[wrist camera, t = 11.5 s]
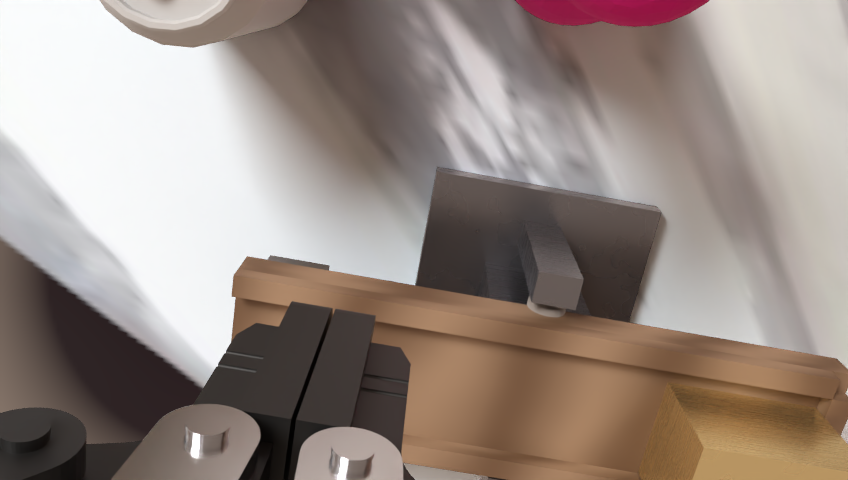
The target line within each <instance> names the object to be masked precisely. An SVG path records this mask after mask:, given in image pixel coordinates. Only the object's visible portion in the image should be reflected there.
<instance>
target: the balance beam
mask: <svg viewBox="0 0 848 480" xmlns="http://www.w3.org/2000/svg"><path fill="white" fill-rule="evenodd" d="M232 297H236V300H235V310H234V320H233V330H232V340H233V339H234V337H235V336H236V334H238V333H240V332H241V331H243V330H245V329H247V328H248V327H250V326H252V325H254V324H255V323H260V324H266V325H272V326H278V327H279V325H280V323H281V321H282V319H283V317H284V315H285V313H286V311H287V309H288V307H289V305H290V303H291V302H292V301H294V302H300V303H306V304H312V305H317V306H323V307H329V308H333V314H334V311H335V309H341V310H347V311H353V312H359V313H365V314H370V315H376V319H375V326H374V332H373V338H372V343H378V344H384V345H389V346H395V347H401V349H402V351H403V352H404V354H405V356H406V357H407V359H408V360H409V362H410V364H411V366H410V376H409V385H408V394H407V404H406V413H405V423H404V432H403V441H402V451H401V455H402V460H403V463H409V464H415V465H421V466H427V467H433V468H439V469H446V470H452V471H458V472H464V473H470V474H476V475H482V476H488V477H494V478H500V479H506V480H641V478H640V475H639V473H638V471H639V468H640V465H641V462H642V459H643V456H644V453H645V450H646V447H647V444H648V441H649V438H650V435H651V432H652V429H653V426H654V423H655V420H656V417H657V414H658V411H659V408H660V405H661V402H662V399H663V396H664V392H665V389H666V386H667V383H668V382H670V383H675V384H681V385H687V386H693V387H699V388H704V389H710V390H716V391H722V392H728V393H734V394H739V395H745V396H751V397H757V398H763V399H768V400H774V401H780V402H786V403H792V404H797V405H803V406H809V407H815V408H817V410H818V411H819V412H820V413H821V414H822V415H823V417H824V418H825V419H826V420H827V421H828V422H829V423H830V425H831V426H832V427H833V428H834V429H835V430H836V432H837V433H838V434H839V435H841V433H842V431H843V428H844V426H845V424H846V421H847V419H848V396H847V395H846V394H845V393H846V391H847V388H848V369H847V368H846V367H845V366H844V365H843V364H842V363H841V362H840V361H838V360H837V359H835V358H829V357H824V356H818V355H812V354H806V353H801V352H795V351H789V350H783V349H778V348H772V347H766V346H760V345H755V344H749V343H743V342H737V341H732V340H726V339H720V338H714V337H708V336H703V335H697V334H691V333H685V332H680V331H674V330H668V329H662V328H657V327H651V326H645V325H639V324H634V323H628V322H622V321H616V320H611V319H605V318H599V317H593V316H587V315H582V314H576V313H570V312H565V311H566V308H560V307H554V306H549V305H543V304H537V303H532V302H531V299H530V296H529V297H528V301H527V305H524V304H518V303H513V302H507V301H501V300H495V299H489V298H484V297H478V296H472V295H466V294H461V293H455V292H449V291H443V290H438V289H432V288H426V287H420V286H415V285H409V284H403V283H397V282H392V281H386V280H380V279H374V278H368V277H363V276H357V275H351V274H345V273H340V272H334V271H329V265H323V264H317V263H312V262H306V261H300V260H294V259H289V258H283V257H277V256H271V255H270V257H269V258H268V260H265V259H259V258H253V257H247V258H246V259H245V260H244V262H243V263H242V265H241V266H240V267H239V269H238V270H237V272H236V273H235V274H234V278H233V288H232ZM332 317H333V316H332ZM231 342H232V341H231Z"/></svg>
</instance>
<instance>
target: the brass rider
mask: <svg viewBox="0 0 848 480" xmlns="http://www.w3.org/2000/svg"><path fill="white" fill-rule="evenodd" d="M638 473H639V475H640V478H641V480H848V444H847V443H846V442H845V441H844V440H843V439H842V437H841V436H840V435H839V434H838V433H837V432H836V430H835V429H834V428H833V427H832V426H831V425H830V423H829V422H828V421H827V420H826V419H825V418H824V417H823V415H822V414H821V413H820V412H819V411H818V410H817V408H815V407H809V406H803V405H797V404H792V403H786V402H780V401H774V400H768V399H763V398H757V397H751V396H745V395H739V394H734V393H728V392H722V391H716V390H710V389H704V388H699V387H693V386H687V385H681V384H675V383H670V382H668V383H667V386H666V389H665V392H664V396H663V399H662V402H661V405H660V408H659V411H658V414H657V417H656V420H655V423H654V426H653V429H652V432H651V435H650V438H649V441H648V444H647V447H646V450H645V453H644V456H643V459H642V462H641V465H640V468H639V471H638Z"/></svg>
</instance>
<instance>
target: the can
mask: <svg viewBox="0 0 848 480" xmlns="http://www.w3.org/2000/svg"><path fill="white" fill-rule="evenodd" d="M100 1H101V3H102V4H103V6H104V7H105V9H106V10H107V11H108V12H109V13H111V14H112V15H113V16H114V17H116V18H117V19H118V20H119V21H120V22H122V23H123V24H124V25H125V26H126V27H128V28H129V29H130V30H131V31H132V32H135V33H137V34H139V35H142V36H144V37H146V38H149V39H151V40H153V41H155V42H158V43H160V44H163V45H173V46H183V47H198V46H202V45H206V44H210V43H215V42H219V41H223V40H227V39H231V38H234V37H238V36H242V35H245V34H249V33H253V32H257V31H260V30H264V29H268V28H272V27H275V26H279V25H280V24H282V23H283V22H285V21H286V20H288V19H290V18H291V17H293V16H294V15H296V14H297V13H298V12H299V11H300V10H301V9H302V7H303V6H304V5H305V3H306V2H307V1H308V0H100Z"/></svg>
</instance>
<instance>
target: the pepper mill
mask: <svg viewBox="0 0 848 480" xmlns="http://www.w3.org/2000/svg"><path fill="white" fill-rule="evenodd" d="M515 1H516V2H517V3H518V4H519V5H521V6H522V7H523V8H524V9H525V10H526V11H528V12H529V13H531V14H533V15H534V16H536V17H538V18H540V19H542V20H545V21H547V22H551V23H555V24H559V25H571V26H575V25H584V24H591V23H595V22H599V21H603V22H607V23H611V24H615V25H619V26H633V27H636V26H652V25H657V24H661V23H666V22H670V21H672V20H675V19H677V18H679V17H682V16H684V15H687V14H689V13H691V12H692V11H694V10H696V9H697V8H699V7H700V6H702V5H704V4H705V3H707V2H708V1H709V0H515Z"/></svg>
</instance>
